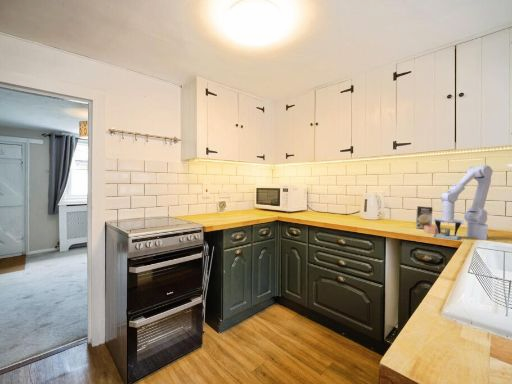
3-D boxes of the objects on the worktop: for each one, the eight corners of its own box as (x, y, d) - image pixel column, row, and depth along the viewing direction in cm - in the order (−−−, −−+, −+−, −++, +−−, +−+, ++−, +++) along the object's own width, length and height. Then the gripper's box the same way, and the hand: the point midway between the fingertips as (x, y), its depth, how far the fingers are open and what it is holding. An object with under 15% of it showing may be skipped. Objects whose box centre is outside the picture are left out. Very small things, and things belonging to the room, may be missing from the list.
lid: (458, 237, 152) (458, 229, 151) (457, 239, 144) (457, 231, 144) (437, 234, 158) (438, 227, 158) (436, 237, 151) (436, 229, 151)
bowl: (441, 233, 165) (441, 226, 165) (440, 235, 159) (440, 228, 158) (425, 231, 171) (425, 224, 171) (423, 233, 165) (423, 226, 164)
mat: (461, 237, 151) (461, 237, 151) (460, 241, 142) (460, 240, 142) (435, 234, 160) (435, 234, 160) (432, 237, 151) (432, 236, 151)
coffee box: (416, 228, 180) (417, 206, 180) (415, 227, 186) (416, 206, 185) (431, 230, 176) (432, 207, 175) (430, 228, 181) (431, 207, 181)
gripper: (432, 211, 152) (431, 233, 153) (463, 213, 143) (462, 237, 143) (434, 210, 158) (433, 231, 158) (463, 212, 148) (462, 235, 149)
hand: (447, 234), depth 151 cm, fingers open, 7 cm apart
